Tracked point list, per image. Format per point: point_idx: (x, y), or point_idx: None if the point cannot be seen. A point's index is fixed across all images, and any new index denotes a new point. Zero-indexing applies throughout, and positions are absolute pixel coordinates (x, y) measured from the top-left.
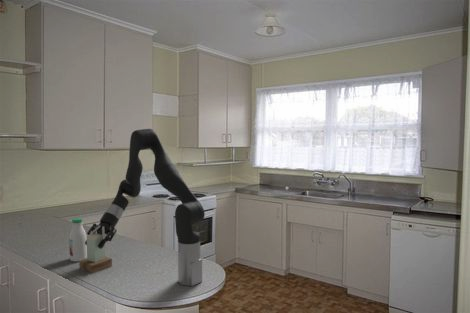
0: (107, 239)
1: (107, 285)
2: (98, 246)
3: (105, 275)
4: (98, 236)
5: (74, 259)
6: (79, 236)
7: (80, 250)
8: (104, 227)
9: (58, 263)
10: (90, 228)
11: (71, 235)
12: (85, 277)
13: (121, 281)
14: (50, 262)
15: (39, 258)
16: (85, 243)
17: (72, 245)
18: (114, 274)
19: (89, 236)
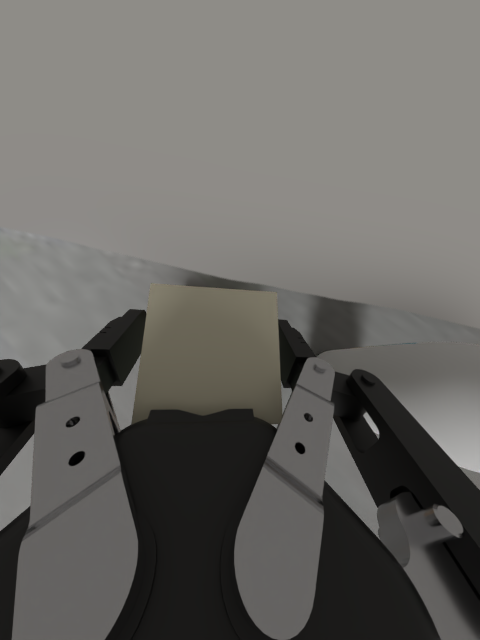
0: (26, 374)
1: (51, 259)
2: (133, 309)
3: (119, 315)
4: (144, 336)
5: (325, 352)
6: (418, 374)
7: (336, 370)
8: (16, 603)
9: (348, 320)
10: (439, 448)
11: (463, 343)
12: (176, 277)
13: (15, 301)
14: (374, 314)
15: (428, 322)
16: (279, 320)
17: (381, 345)
18: (89, 337)
19: (243, 290)
